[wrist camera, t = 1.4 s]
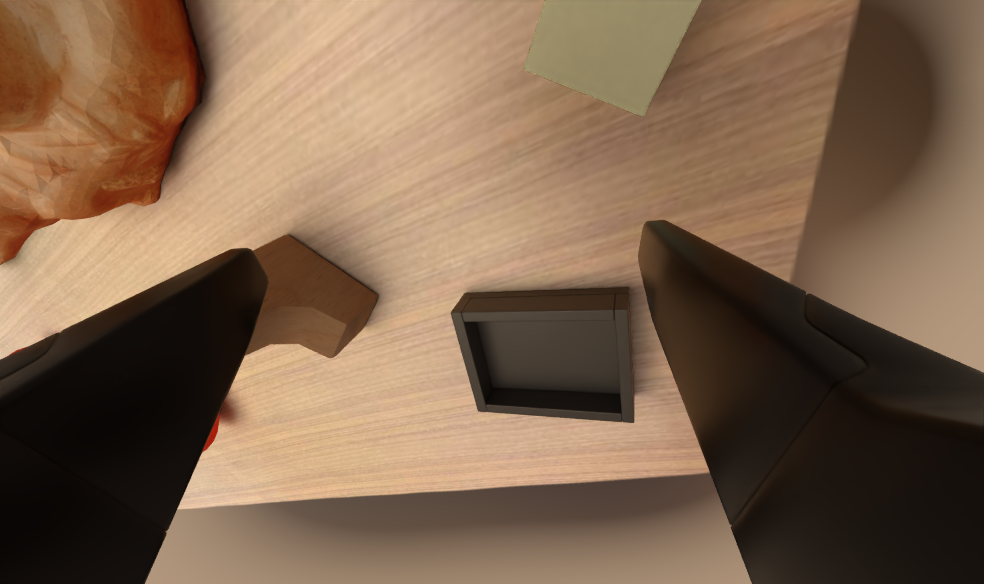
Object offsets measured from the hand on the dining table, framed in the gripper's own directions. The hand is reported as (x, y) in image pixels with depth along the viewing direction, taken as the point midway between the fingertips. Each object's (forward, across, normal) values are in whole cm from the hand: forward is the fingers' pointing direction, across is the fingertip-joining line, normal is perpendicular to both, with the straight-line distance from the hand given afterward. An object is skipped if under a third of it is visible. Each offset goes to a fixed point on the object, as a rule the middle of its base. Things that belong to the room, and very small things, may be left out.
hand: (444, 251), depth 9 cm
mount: (+13, -4, +18) cm, 22 cm away
